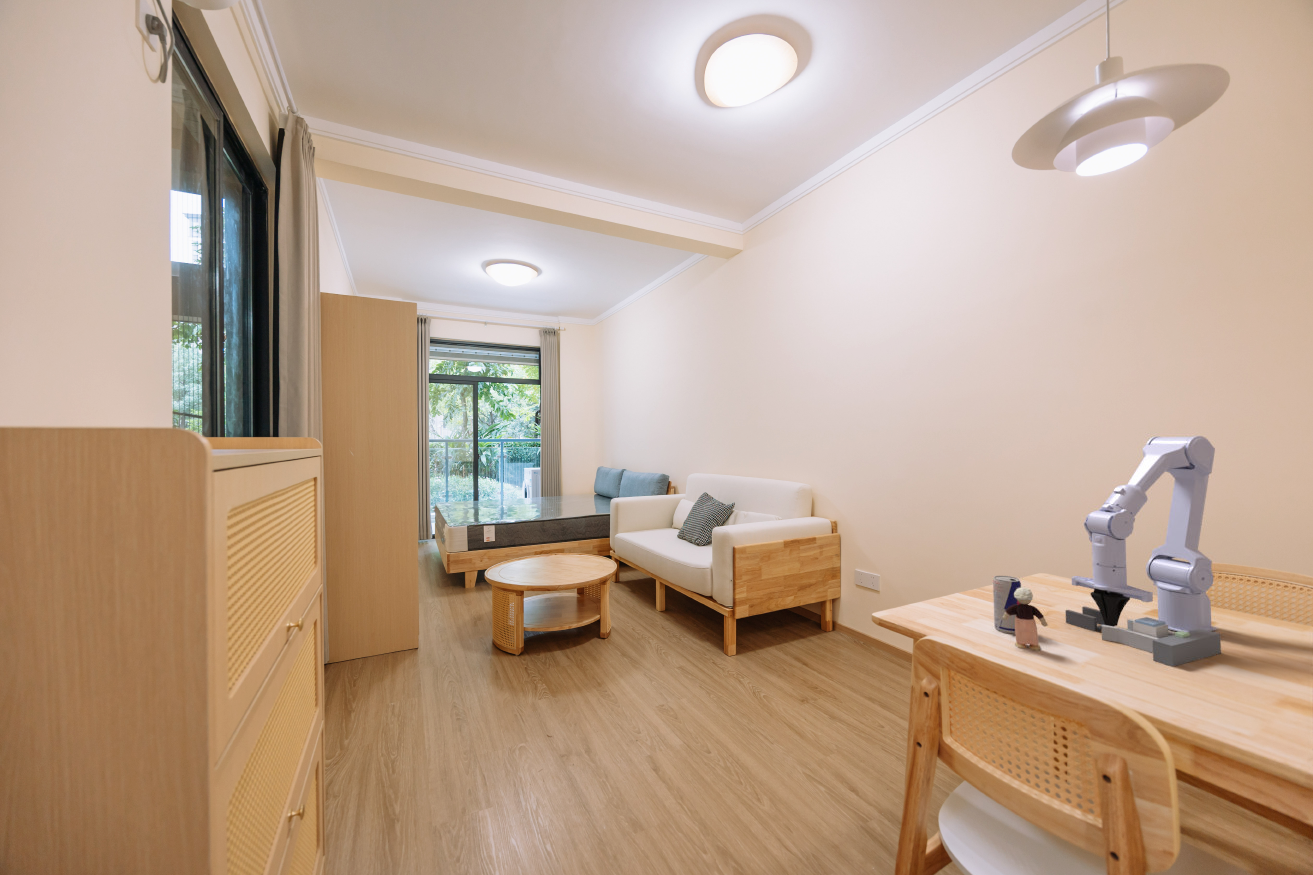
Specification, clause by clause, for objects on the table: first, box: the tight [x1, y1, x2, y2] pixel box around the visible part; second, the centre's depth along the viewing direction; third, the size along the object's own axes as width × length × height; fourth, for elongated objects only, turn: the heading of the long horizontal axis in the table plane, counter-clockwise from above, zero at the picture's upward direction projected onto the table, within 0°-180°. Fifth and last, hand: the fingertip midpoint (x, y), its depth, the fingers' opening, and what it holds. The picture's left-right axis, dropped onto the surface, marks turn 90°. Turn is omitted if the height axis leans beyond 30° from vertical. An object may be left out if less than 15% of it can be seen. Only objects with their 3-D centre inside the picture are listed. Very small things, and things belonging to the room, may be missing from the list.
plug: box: [1133, 616, 1169, 639], centre depth 107 cm, size 4×4×6 cm
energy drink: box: [992, 575, 1022, 635], centre depth 118 cm, size 5×5×12 cm
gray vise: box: [1065, 606, 1115, 632], centre depth 121 cm, size 13×7×3 cm, turn 109°
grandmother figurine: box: [1002, 586, 1049, 652], centre depth 109 cm, size 8×4×13 cm, turn 71°
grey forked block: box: [1101, 618, 1222, 668], centre depth 107 cm, size 16×14×5 cm
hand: (1111, 625), depth 114 cm, fingers closed
